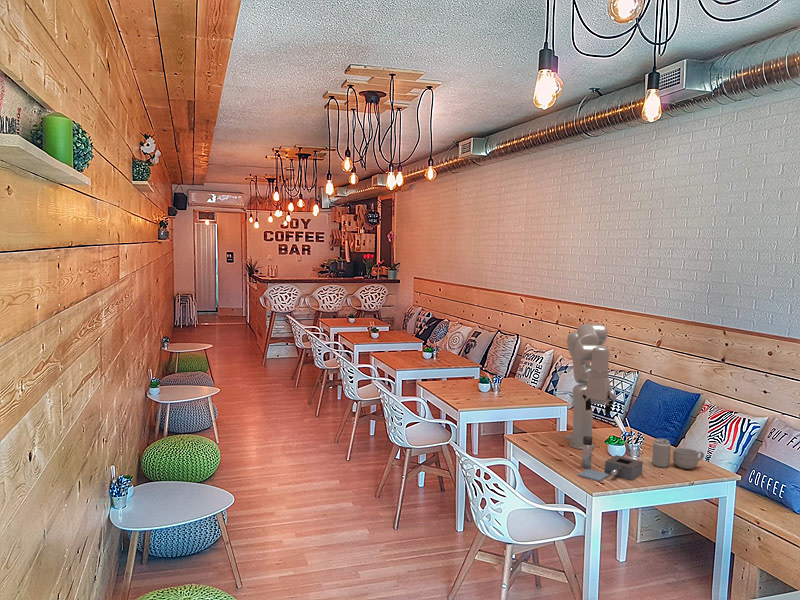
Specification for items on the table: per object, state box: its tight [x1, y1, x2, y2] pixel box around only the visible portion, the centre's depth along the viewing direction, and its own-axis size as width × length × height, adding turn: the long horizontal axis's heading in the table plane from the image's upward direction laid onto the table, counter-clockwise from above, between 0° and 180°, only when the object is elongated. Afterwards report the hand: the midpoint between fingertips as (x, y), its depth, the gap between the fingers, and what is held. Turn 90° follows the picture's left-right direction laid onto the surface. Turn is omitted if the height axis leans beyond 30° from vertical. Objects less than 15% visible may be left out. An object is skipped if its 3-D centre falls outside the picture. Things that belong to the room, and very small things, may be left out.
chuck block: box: [604, 454, 643, 481], centre depth 266 cm, size 12×18×6 cm, turn 138°
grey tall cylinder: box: [581, 436, 593, 470], centre depth 275 cm, size 4×4×14 cm
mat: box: [577, 468, 610, 482], centre depth 264 cm, size 10×10×1 cm
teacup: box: [672, 447, 705, 470], centre depth 280 cm, size 14×11×8 cm
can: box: [651, 438, 672, 468], centre depth 281 cm, size 8×8×12 cm
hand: (597, 411), depth 275 cm, fingers open, 9 cm apart
